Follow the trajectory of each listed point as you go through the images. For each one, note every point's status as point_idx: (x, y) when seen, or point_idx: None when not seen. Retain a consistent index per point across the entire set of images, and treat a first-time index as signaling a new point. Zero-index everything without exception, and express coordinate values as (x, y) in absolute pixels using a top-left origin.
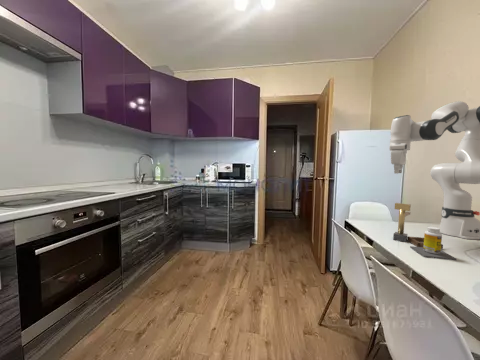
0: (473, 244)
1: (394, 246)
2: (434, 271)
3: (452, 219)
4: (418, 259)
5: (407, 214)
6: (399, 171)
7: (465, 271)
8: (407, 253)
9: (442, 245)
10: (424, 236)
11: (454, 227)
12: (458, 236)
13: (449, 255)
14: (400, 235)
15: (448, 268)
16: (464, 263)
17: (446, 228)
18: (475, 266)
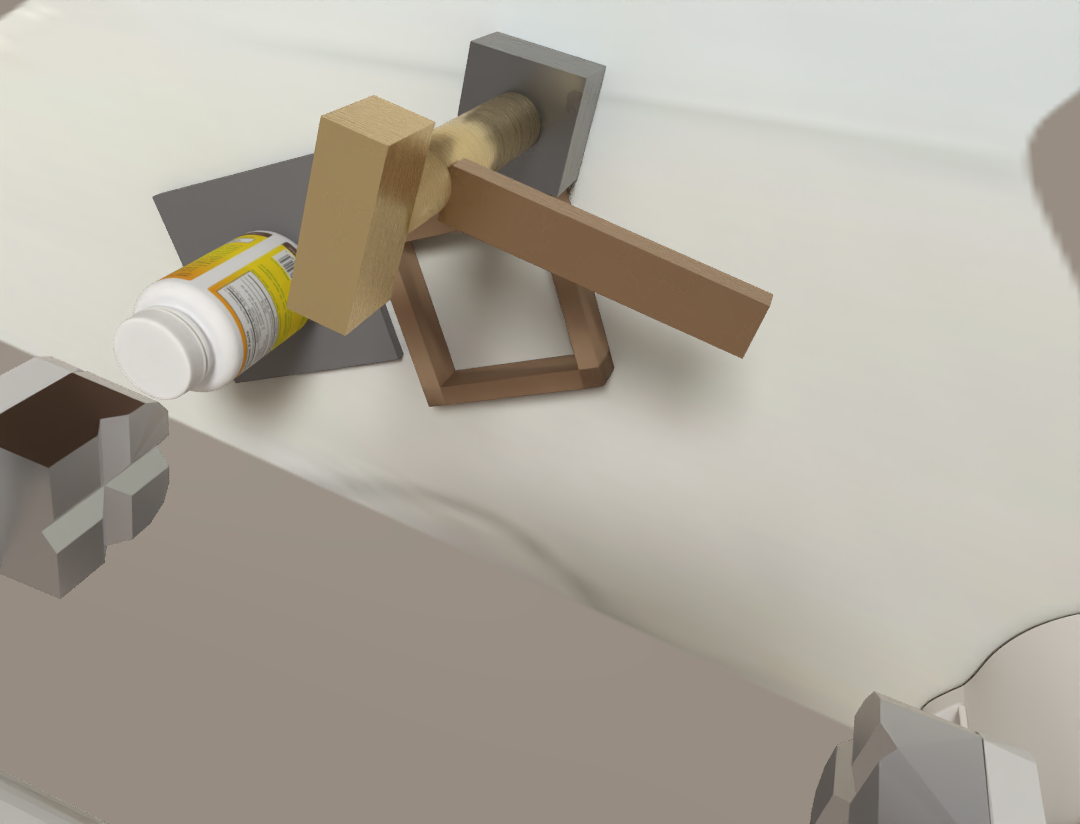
0: (747, 670)
1: (270, 14)
2: None
3: (1052, 801)
4: (85, 143)
5: (576, 277)
6: (853, 810)
7: (82, 345)
8: (157, 94)
9: (430, 401)
10: (195, 267)
11: (1008, 736)
12: (965, 688)
13: (277, 368)
14: (459, 109)
15: (61, 275)
16: (215, 398)
17: (1063, 680)
18: (203, 432)
